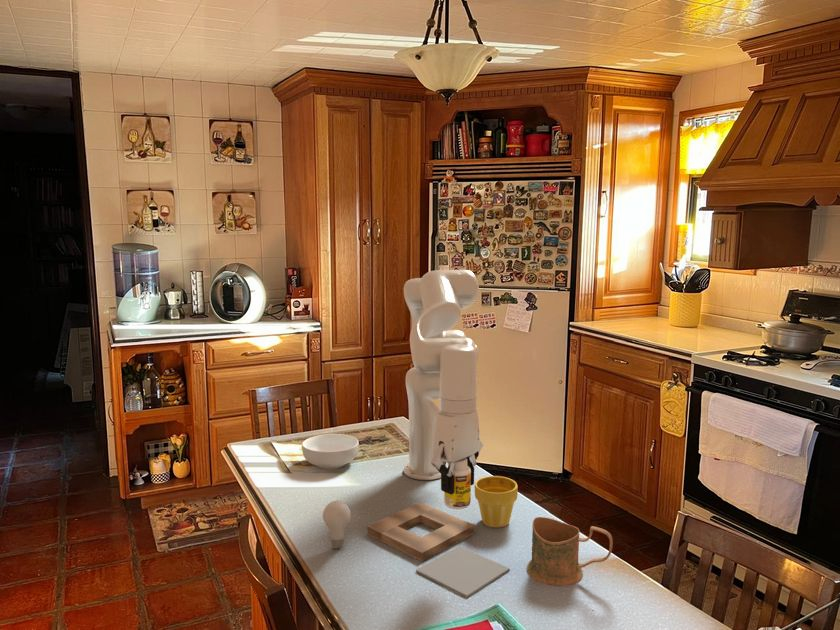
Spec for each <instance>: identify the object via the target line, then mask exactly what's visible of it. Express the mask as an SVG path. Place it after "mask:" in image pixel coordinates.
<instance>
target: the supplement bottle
mask: <svg viewBox="0 0 840 630" xmlns="http://www.w3.org/2000/svg"><path fill="white" fill-rule="evenodd" d="M467 464H468V463H467V458H463V459H461V460H458V461H456V462H455V464H454V468H453V473H452V475H454V494H449V493H446V492H444V491H443V492H444V493H443V494H444V496H443V497H444V505H445V506H446V507H447V508H449V509H453V510H464V509H467V508H468V507H470V505H471V499H472V498H471V495H472V494H471V492H472V488H471V487H472V485H471V469H470V467H469V466H467ZM448 465H449V463H447V465H446V467H447V468H448Z"/></svg>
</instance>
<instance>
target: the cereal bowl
mask: <svg viewBox="0 0 840 630" xmlns="http://www.w3.org/2000/svg"><path fill="white" fill-rule="evenodd" d="M359 444H360V443H359V440H358V438H356V437H355V436H352V435H349V434H343V433H325V434H320V435H315V436H311V437H308V438H307V439H305V440H304V441H303V442H302V443H301V451H302V455H303V458H304V459H305V460H306V461H307V462H308V463H309V464H311V465H313V466H317V467H318V468H320V469H324V470H336V469H340V468H342V467H343V466H344V465H347V464H348V463H351V462H352V461H353V460H354V459H355V458H356V457H357V455H358V452H359V447H360V445H359Z"/></svg>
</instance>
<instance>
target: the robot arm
mask: <svg viewBox="0 0 840 630" xmlns="http://www.w3.org/2000/svg"><path fill="white" fill-rule="evenodd" d="M479 293H480V286H479V281H478V278H477V276H476V275H475V273H474V272H472V271H471V270H468V269H437V270H431V271H428V272H426V273H425V274H423V276H422V277H415V278H411V279H408V280H407V281H406V282H405V283H404V286H403V297H404V300H405V303H406V305H407V308H408V310H409V312H410V317H411V330H410V334H409V345H410V346H409V347H410V353H411V360H412V365H413V366H414V367H411V368H410V369H408V370H407V372H406V374H405V388H406V393H407V400H408V401H407V402H408V404H407V405H408V425H409V426H408V437H409V438H408V439H409V440H408V442H409V443H408V445H409V446H408V448H409V449H408V457H409V458H408V459H409V463H407V464H406V465H404V468H403V472H404V473H403V474H405V476H406V477H408V478H411V479H413V480H414V479H415V480H419V481H432V480H437V479H440V490H441V492H446V493H449V494H454V475H452V473H453V468H454V464H455V462H456V461H458V460H461V459H463V458H467V463H468V464H467V466H469V467H470V469H471V486H473V485H474V486H475V467H476V465H477V459H478V457H479V455H480V453H481V450H482V448H483V447H484V444H483V443H482V441H481V440H480V423H479V413H478V409H477V377H478V376H477V375H478V374H477V373H478V372H477V369H478V368H477V367H478V365H477V364H478V362H479V349H478V346H477V345H476V343H475V341H474V340H473V339H471V338H469V337H467V335H466V333H465V332H464V331H461V330H458V329H453V328H454V327H455V326H456V325H457V324H458V323H459V321H460V319H461V318H462V317H461V316H462V311H461V310H467V309H468V308H470V307H471V306H473V305H474V304H475V303H476V302H477V300H478V297H479ZM434 400H439V406H438V405H437V404H436V403H435V402H434ZM448 463H449V465H448ZM446 466H448V468H447V467H446Z"/></svg>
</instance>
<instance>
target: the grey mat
mask: <svg viewBox="0 0 840 630" xmlns="http://www.w3.org/2000/svg"><path fill="white" fill-rule="evenodd" d="M509 571H510V567H507V566H505V565H503V564H501V563H498V562H496V561H494V560H492V559H489V558H488V557H485V556H483V555H481V554H478V553H476V552H474V551H472V550H469V549H467V548H465V547H462V546H460V545H458V546H457V547H454V548H452V549H451V550H449V551H448V552H445V553H444V554H442V555H440V556H438V557H437V558H435V559H433V560H431V561H430V562H428V563H426V564H424V565H422V566H420V567H418V568H417V569H416V570H415V572H416V573H418V574H419V575H421V576H424V577H426V578H427V579H429V580H432V581H433V582H435V583H437V584H439V585H441V586H443V587H445V588H447V589H449V590H450V591H453V592H455V593H457V594H459V595H460V596H462V597H464V598H469V597H471V596H473V595H474V594H475V593H477V592H479V591H480V590H482V589H483V588H484V587H486V586H488V585H490V584H491V583H492V582H494V581H496V580H497V579H499V578H500V577H502V576H503V575H505V574H506V573H508V572H509Z"/></svg>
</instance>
